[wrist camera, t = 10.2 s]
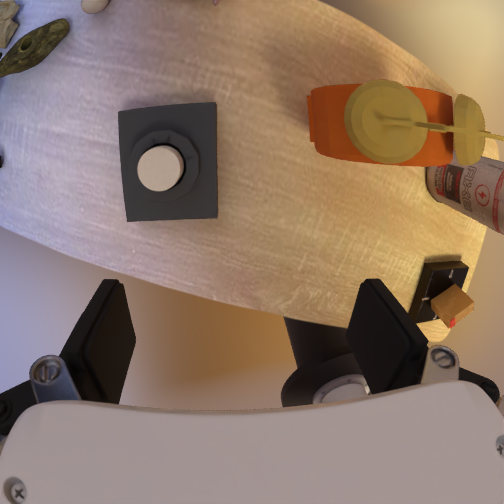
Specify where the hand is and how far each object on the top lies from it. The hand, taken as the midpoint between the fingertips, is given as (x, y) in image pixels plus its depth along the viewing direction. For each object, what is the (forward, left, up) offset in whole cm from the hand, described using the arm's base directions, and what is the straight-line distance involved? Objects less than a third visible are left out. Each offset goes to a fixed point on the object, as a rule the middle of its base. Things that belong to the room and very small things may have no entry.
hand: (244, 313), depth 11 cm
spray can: (+3, -29, -23) cm, 38 cm away
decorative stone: (+19, +24, -19) cm, 36 cm away
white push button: (+3, +7, -18) cm, 20 cm away
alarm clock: (+8, -13, -23) cm, 28 cm away
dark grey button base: (+3, +7, -23) cm, 24 cm away
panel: (-16, -33, -23) cm, 44 cm away
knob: (-16, -33, -20) cm, 42 cm away
